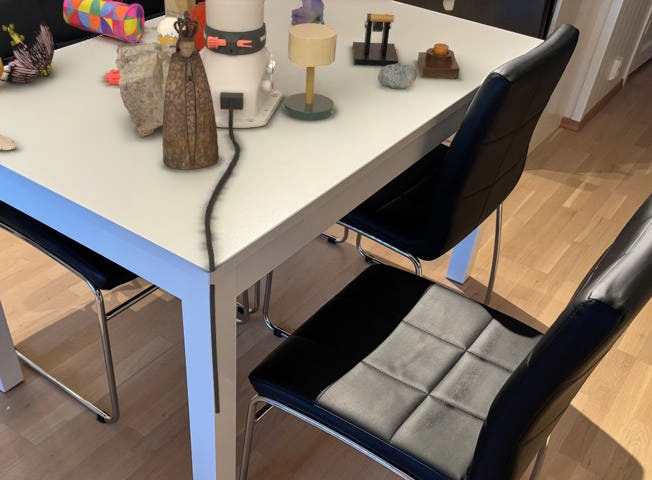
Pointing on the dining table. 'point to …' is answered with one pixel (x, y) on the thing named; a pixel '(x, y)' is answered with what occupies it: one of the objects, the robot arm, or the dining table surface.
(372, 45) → the switch bracket
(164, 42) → the ornament
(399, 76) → the grey rock
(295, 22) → the flower
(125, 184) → the dining table surface
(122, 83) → the stone
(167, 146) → the statue
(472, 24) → the dining table surface
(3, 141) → the arrowhead
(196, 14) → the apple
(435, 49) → the button
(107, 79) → the building block
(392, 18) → the switch lever
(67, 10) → the pencil case
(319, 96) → the lamp
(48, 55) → the decorative flower
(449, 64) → the button block
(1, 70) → the potato
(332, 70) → the dining table surface
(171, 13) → the cosmetic box
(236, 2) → the robot arm
